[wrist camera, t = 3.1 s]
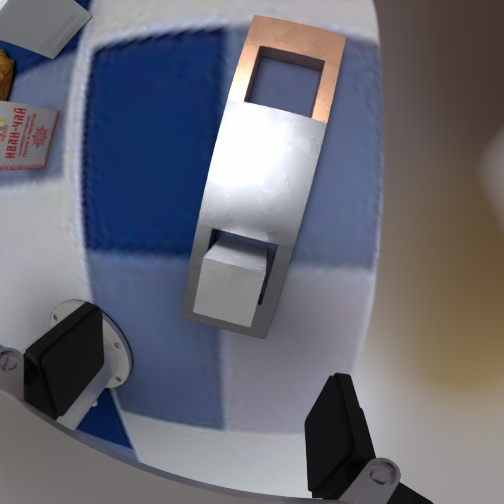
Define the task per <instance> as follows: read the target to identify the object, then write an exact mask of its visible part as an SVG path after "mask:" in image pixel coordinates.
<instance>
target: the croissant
mask: <svg viewBox="0 0 504 504" xmlns="http://www.w3.org/2000/svg"><path fill="white" fill-rule="evenodd" d="M13 68H14V60H12V59H10V58H7V55H6V53H5V52H4V50H2V49H0V101H6V99H7V96H8V94H9V90H10V86H11V81H12V76H13V75H12V74H13Z"/></svg>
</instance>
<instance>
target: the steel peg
mask: <svg viewBox="0 0 504 504" xmlns="http://www.w3.org/2000/svg"><path fill="white" fill-rule="evenodd" d="M267 245H268V244H265V243H261V242H257V241H253V240H249V239H246V238H242V237H238V236H234V235H230V234H226V233H224V234H223V235H222V236H221V237H220V238H219V240H218V241H217V242H216V243H215V244H214V245H213V247H212V248H211V249H210V250H209V251H208V253H207V254H206V255H205V256H204V258H203V263H202V268H201V273H200V278H199V283H198V288H197V294H196V299H195V304H194V310H193V312H195V313H198V314H202V315H205V316H209V317H212V318H216V319H220V320H224V321H227V322H231V323H235V324H239V325H243V326H247V327H250V326H251V323H252V320H253V316H254V313H255V309H256V306H257V302H258V299H259V295H260V292H261V288H262V284H263V281H264V277H265V274H266V260H267Z"/></svg>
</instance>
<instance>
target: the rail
mask: <svg viewBox="0 0 504 504" xmlns="http://www.w3.org/2000/svg"><path fill="white" fill-rule="evenodd" d="M345 38H346V37H345V36H342V35H339V34H336V33H333V32H329V31H326V30H322V29H319V28H315V27H311V26H307V25H303V24H299V23H295V22H290V21H285V20H280V19H275V18H269V17H263V16H257V15H254V18H253V20H252V23H251V26H250V29H249V32H248V35H247V38H246V41H245V44H244V47H243V50H242V54H241V57H240V60H239V63H238V66H237V70H236V73H235V76H234V80H233V83H232V86H231V90H230V93H229V97H228V100H227V104H226V108H225V111H224V115H223V118H222V122H221V126H220V130H219V134H218V137H217V141H216V145H215V149H214V153H213V157H212V161H211V166H210V170H209V174H208V178H207V183H206V187H205V191H204V196H203V200H202V205H201V209H200V214H199V219H198V224H197V229H196V234H195V239H194V244H193V249H192V254H191V259H190V265H189V270H188V276H187V282H186V287H185V293H184V299H183V305H182V312H181V317H183V318H186V319H190V320H193V321H197V322H200V323H204V324H207V325H211V326H215V327H218V328H222V329H226V330H230V331H233V332H237V333H241V334H245V335H249V336H254V337H258V338H262V339H266V336H267V333H268V330H269V327H270V324H271V321H272V318H273V315H274V311H275V308H276V305H277V302H278V299H279V296H280V292H281V289H282V286H283V283H284V279H285V276H286V273H287V269H288V266H289V263H290V259H291V256H292V252H293V249H294V246H295V242H296V239H297V235H298V232H299V228H300V225H301V221H302V217H303V214H304V210H305V207H306V203H307V199H308V196H309V192H310V188H311V184H312V181H313V177H314V173H315V169H316V165H317V161H318V157H319V153H320V149H321V145H322V141H323V137H324V133H325V129H326V125H327V121H328V117H329V112H330V108H331V104H332V99H333V95H334V91H335V86H336V82H337V77H338V72H339V68H340V63H341V58H342V53H343V48H344V43H345ZM261 57H266V58H271V59H275V60H280V61H285V62H289V63H293V64H297V65H301V66H305V67H309V68H312V69H316V70H319V71H321V72H320V76H319V80H318V85H317V89H316V93H315V97H314V101H313V105H312V109H311V113H310V117H305V116H301V115H298V114H294V113H290V112H286V111H282V110H278V109H274V108H270V107H265V106H261V105H256V104H252V103H248V100H249V96H250V93H251V89H252V86H253V82H254V79H255V75H256V72H257V68H258V65H259V61H260V58H261ZM216 229H218V230H222V231H226V232H230V233H234V234H238V235H242V236H246V237H250V238H254V239H257V240H261V241H265V242H269V243H273V244H276V247H275V251H274V254H273V258H272V262H271V265H270V269H269V272H268V276H267V279H266V283H265V286H264V290H263V293H262V294H260V295H259V299H258V302H257V306H256V309H255V313H254V316H253V320H252V323H251V326H250V327H247V326H243V325H239V324H235V323H231V322H227V321H224V320H220V319H216V318H212V317H209V316H205V315H202V314H198V313H195V312H193V310H194V304H195V299H196V294H197V288H198V283H199V278H200V273H201V268H202V263H203V258H204V256H205V255H206V254H207V253H208V251H209V250H210V249H211V248H212V247H213V242H214V238H215V233H216Z"/></svg>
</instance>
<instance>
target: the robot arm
mask: <svg viewBox="0 0 504 504" xmlns="http://www.w3.org/2000/svg"><path fill="white" fill-rule="evenodd" d="M131 368H132V358H131V353H130V350H129V347H128V344H127V342H126V340H125V338H124V337H123V335H122V333H121V332H120V330H119V329H118V328H117V326H116V325H115V324H114V323H113V322H112V321H111V320H110V318H109V317H107V316H106V315H105V314H104V313H103V312H102V311H100V308H99V307H98V306H96V305H94V304H91V303H89V302H83V301H79V300H69V301H65V302H63V303H62V304H60V305H59V306H57V307H56V308H55V309H54V311H53V312H52V314H51V318H50V329H49V330H47V331H46V332H45V333H44V334H42V335H41V336H40V337H39V338H37V339H36V340H35V341H34V342H32V343H31V344H30V345H29V346H28V347H26V348H25V349H24V350H23V351H22V352H19V351H18V350H16V349H14V348H3V349H0V504H433V503H432V502H431V501H430V500H428V499H426V498H425V497H423V496H421V495H420V494H418V493H416V492H415V491H413V490H412V489H410V488H408V487H407V486H405V485H404V484H402V483H400V482H399V481H400V478H401V473H400V470H399V468H398V466H397V465H396V464H395V463H394V462H392V461H391V460H389V459H386V458H376V456H375V452H374V448H373V444H372V440H371V437H370V433H369V430H368V426H367V423H366V419H365V416H364V412H363V410H362V408H360V406H359V402H358V399H357V395H356V392H355V389H354V385H353V382H352V379H351V376H350V375H348V374H342V373H335V374H334V376H329V378H328V380H327V382H326V384H325V386H324V387H323V389H322V391H321V393H320V395H319V397H318V398H317V400H316V402H315V404H314V406H313V407H312V409H311V411H310V413H309V414H308V416H307V418H306V420H305V441H306V459H307V480H308V490H309V491H311V492H312V498H322V499H310V498H295V497H285V496H276V495H267V494H260V493H253V492H247V491H241V490H235V489H230V488H225V487H221V486H216V485H212V484H208V483H204V482H200V481H196V480H192V479H189V478H185V477H182V476H178V475H175V474H172V473H169V472H166V471H163V470H160V469H157V468H154V467H151V466H148V465H146V464H143V463H141V462H138V461H135V460H133V459H130V458H128V457H126V456H123V455H121V454H119V453H116V452H114V451H112V450H110V449H108V448H105V447H103V446H101V445H99V444H97V443H95V442H93V441H91V440H89V439H87V438H85V437H83V436H82V435H80V434H78V433H76V432H74V431H75V429H76V428H77V426H78V425H79V423H80V422H81V420H82V419H83V418H84V416H85V415H86V413H87V412H88V411H89V409H90V408H91V406H96V405H97V404H98V401H97V398H98V396H99V395H100V394H101V392H102V391H103V390H104V388H114V387H118V386H120V385H121V384H123V383H124V382H125V380H126V379H127V378H128V376H129V374H130V372H131Z"/></svg>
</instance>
